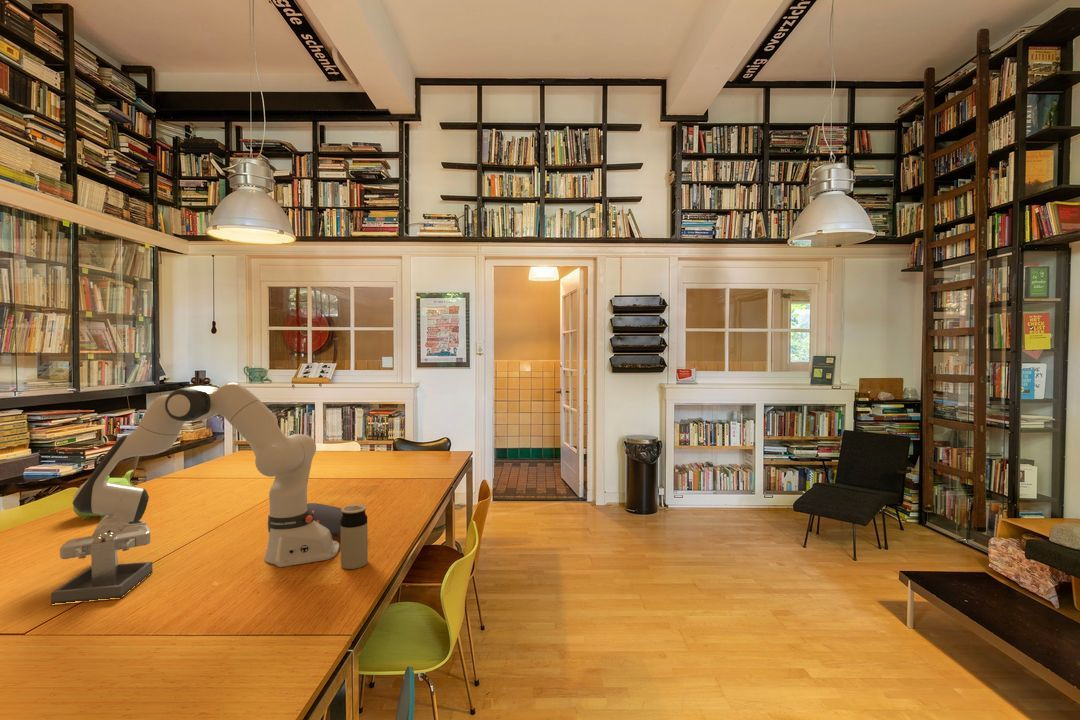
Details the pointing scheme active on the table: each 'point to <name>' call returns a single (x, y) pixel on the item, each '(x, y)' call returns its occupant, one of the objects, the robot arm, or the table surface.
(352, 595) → the table surface
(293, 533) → the robot arm
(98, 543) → the ball-topped square pillar
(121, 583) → the charcoal bin
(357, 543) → the travel mug
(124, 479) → the teapot
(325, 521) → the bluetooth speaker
